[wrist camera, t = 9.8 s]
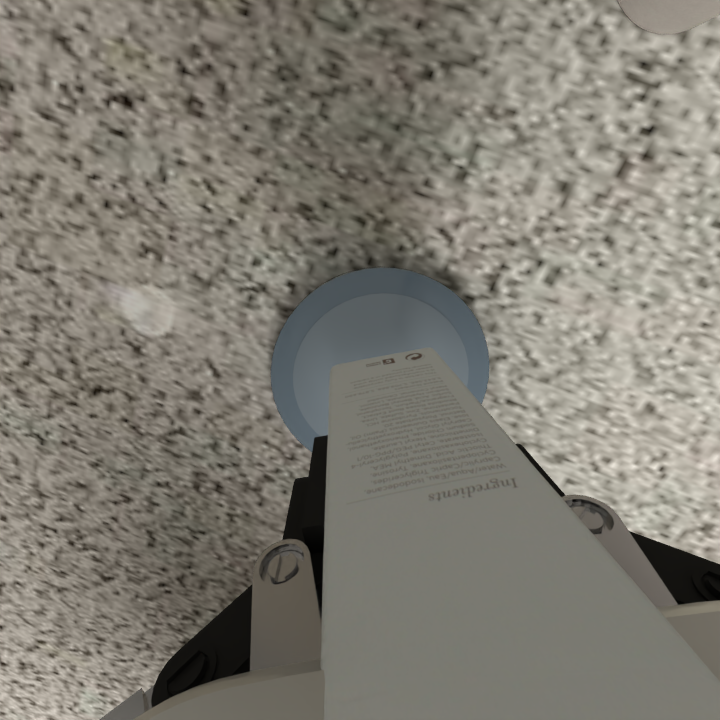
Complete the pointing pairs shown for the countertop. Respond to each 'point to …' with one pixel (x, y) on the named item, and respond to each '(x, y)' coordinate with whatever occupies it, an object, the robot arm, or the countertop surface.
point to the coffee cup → (669, 14)
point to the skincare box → (474, 573)
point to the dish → (369, 338)
